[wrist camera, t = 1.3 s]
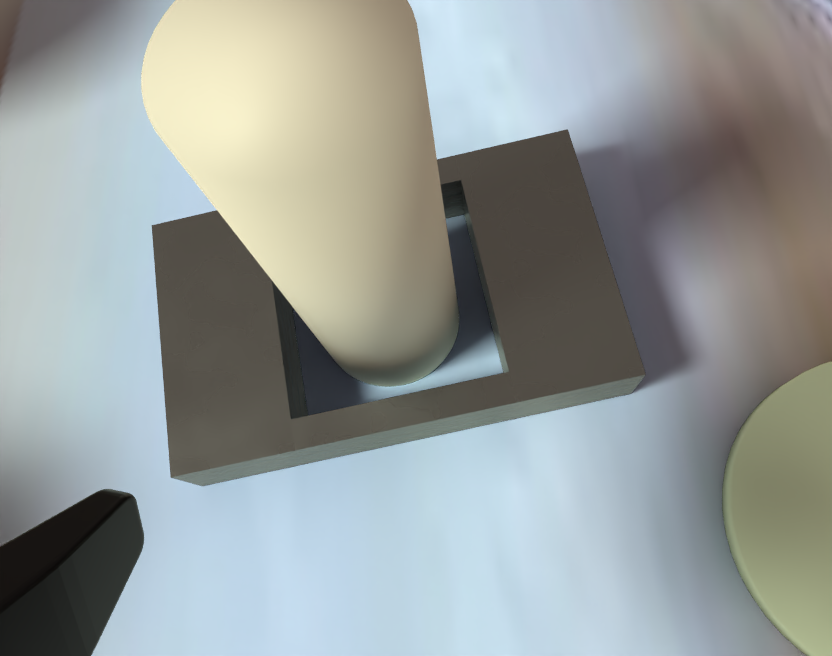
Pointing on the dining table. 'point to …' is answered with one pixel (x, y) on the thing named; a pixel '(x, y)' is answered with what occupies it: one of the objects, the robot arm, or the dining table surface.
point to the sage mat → (786, 508)
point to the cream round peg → (318, 165)
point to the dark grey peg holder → (411, 413)
